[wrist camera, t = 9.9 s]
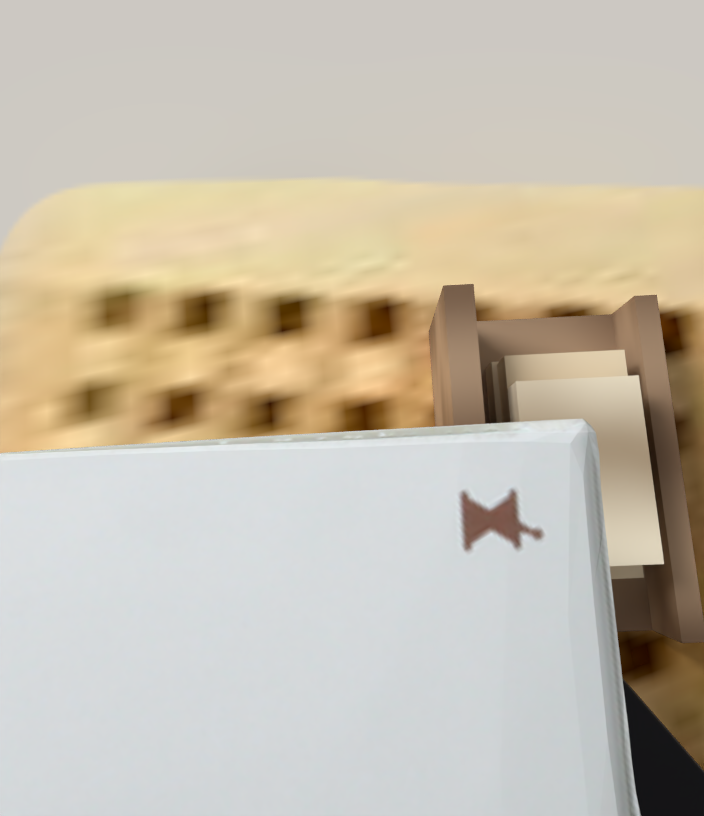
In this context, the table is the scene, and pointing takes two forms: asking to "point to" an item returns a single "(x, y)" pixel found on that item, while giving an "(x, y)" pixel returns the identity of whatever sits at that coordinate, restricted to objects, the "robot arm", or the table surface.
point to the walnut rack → (645, 356)
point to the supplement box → (312, 627)
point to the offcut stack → (615, 430)
